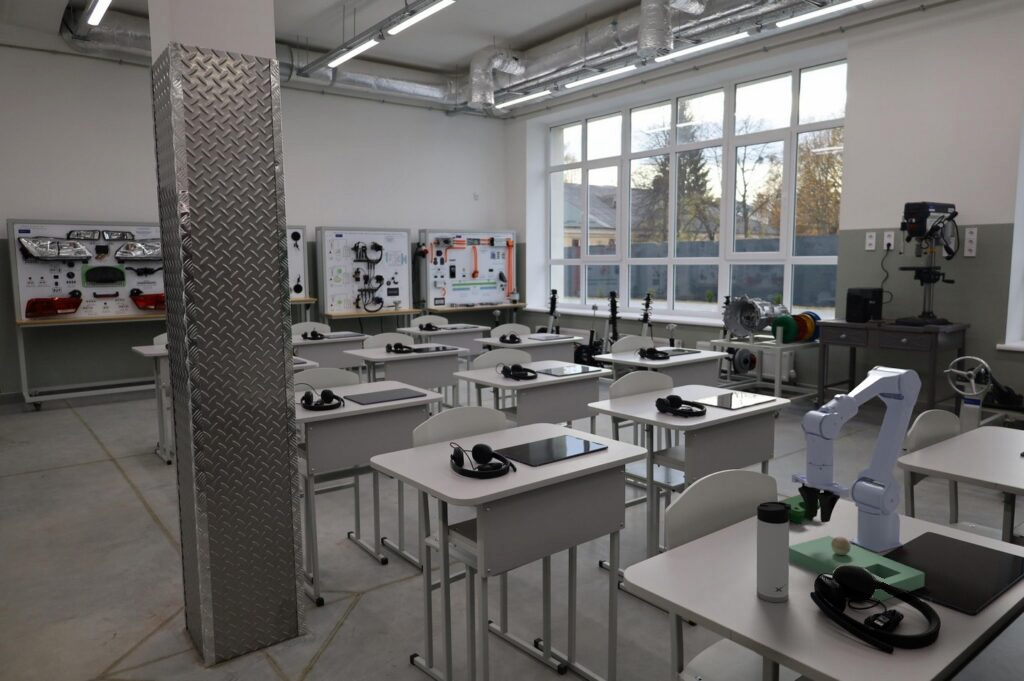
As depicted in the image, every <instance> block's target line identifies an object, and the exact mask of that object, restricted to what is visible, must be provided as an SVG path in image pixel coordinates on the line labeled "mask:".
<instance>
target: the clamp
mask: <svg viewBox="0 0 1024 681" xmlns="http://www.w3.org/2000/svg"><path fill="white" fill-rule="evenodd" d="M778 502H783V503H786V504H790V505H791V510H789V519H790V520H791V521H793V522H794V523H796V524H797V525H799V526H801V525H802V524H803V520H804V519H807V520H810V521H812V522H813V521H814V518H815V517H812V518H810V517H808V513H807V509H806V506H805V503H804V500H803V498H802V496H801V494H800V493H799V494H798V495H794V496H791V497H787V498H785V499H781V500H778ZM818 510H820V503H819V500H818Z"/></svg>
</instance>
